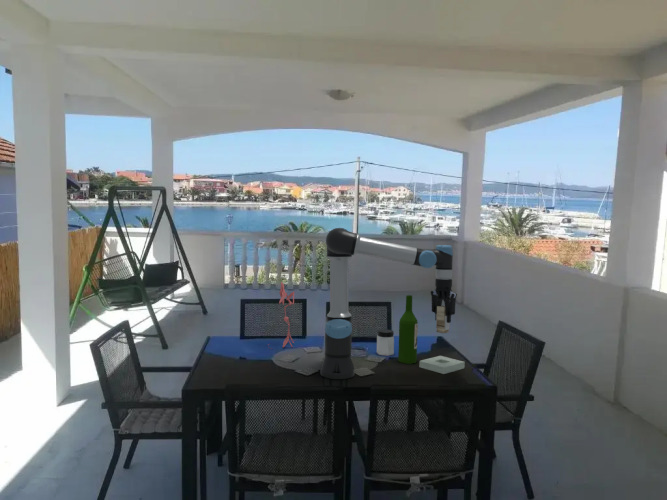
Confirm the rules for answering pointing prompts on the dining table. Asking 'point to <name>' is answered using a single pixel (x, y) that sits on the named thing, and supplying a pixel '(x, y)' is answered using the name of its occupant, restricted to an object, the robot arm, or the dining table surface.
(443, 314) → the peg
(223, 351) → the dining table surface
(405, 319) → the wine bottle
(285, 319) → the figurine
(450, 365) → the plinth
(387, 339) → the jar
